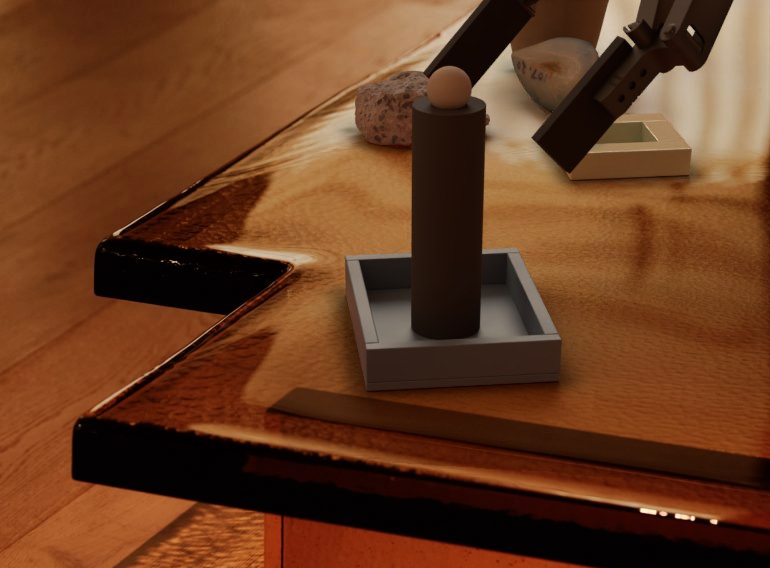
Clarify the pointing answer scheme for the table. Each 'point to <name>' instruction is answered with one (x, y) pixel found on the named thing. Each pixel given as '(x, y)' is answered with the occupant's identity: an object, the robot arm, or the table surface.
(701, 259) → the table surface
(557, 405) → the table surface
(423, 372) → the grey tray
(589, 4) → the flower pot
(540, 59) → the seashell
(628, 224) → the table surface
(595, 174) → the beige square tray
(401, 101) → the rock
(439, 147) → the dark brown tall cylinder
